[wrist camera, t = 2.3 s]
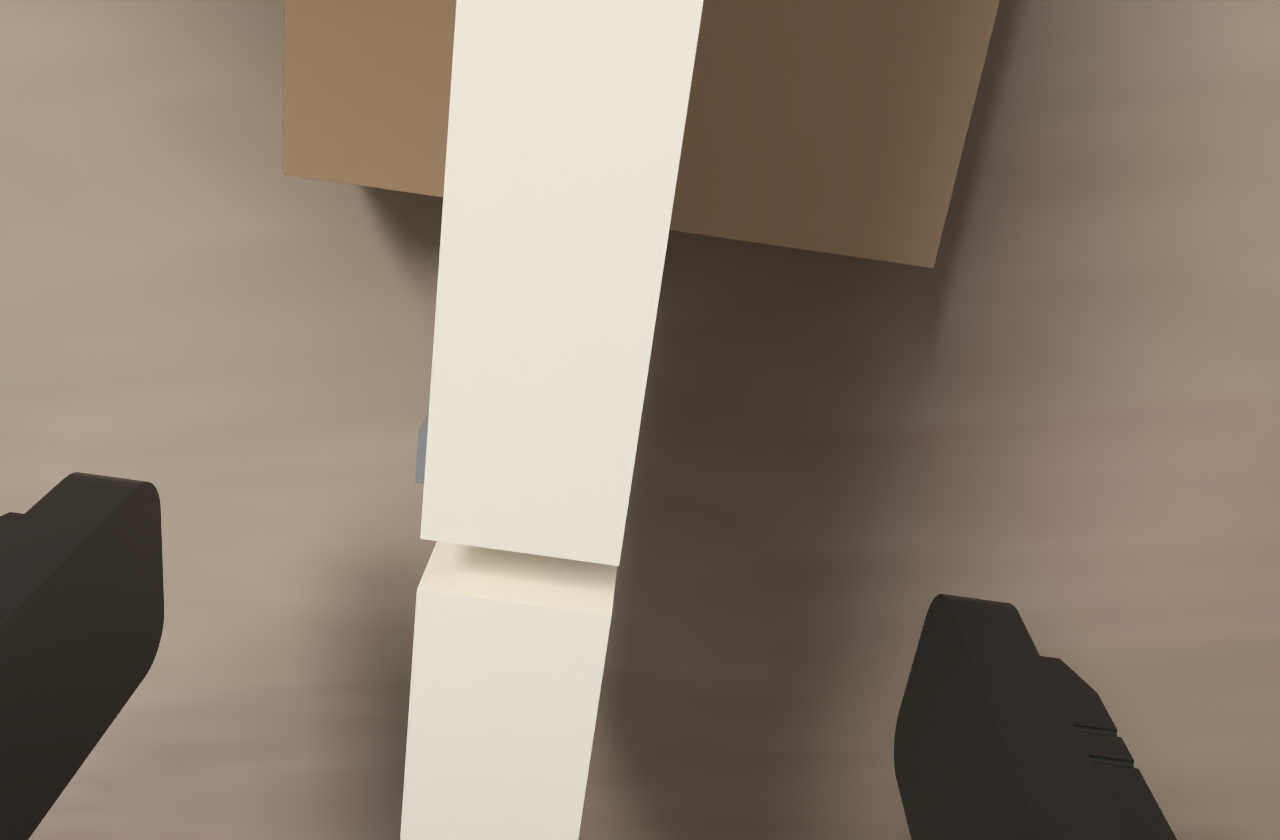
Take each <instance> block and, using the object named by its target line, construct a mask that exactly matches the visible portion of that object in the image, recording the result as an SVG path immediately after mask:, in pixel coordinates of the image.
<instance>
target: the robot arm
mask: <svg viewBox="0 0 1280 840" xmlns="http://www.w3.org/2000/svg"><path fill="white" fill-rule="evenodd" d="M163 621H164V594H163V565H162V536H161V508H160V499H159V495H158V492H157V489H156V488H155V486H154V485H153V484H152V483H149V482H144V481H137V480H130V479H122V478H115V477H108V476H101V475H94V474H86V473H79V472H76V473H72V474H70V475H68V476H67V477H66V478H64V479H63V480H62V481H61V482H60V483H59V484H58V485H56V486H55V487H54V488H53V489H52V490H51V491H50V492H49V493H47V494H46V495H45V496H44V497H43V498H42V499H41V500H40V501H38V502H37V503H36V504H35V505H34V506H33V507H32V508H31V509H30V510H28V511H27V512H26V513H25V514H20V513H12V512H10V513H7V514H5V515H3V516H1V517H0V840H28V839H29V837H30V836H31V835H32V833H33V832H34V830H35V829H36V828H37V826H38V825H39V824H40V822H41V821H42V819H43V818H44V817H45V815H46V814H47V812H48V811H49V810H50V808H51V807H52V805H53V804H54V803H55V801H56V800H57V798H58V797H59V796H60V794H61V793H62V791H63V790H64V789H65V787H66V786H67V785H68V783H69V782H70V780H71V779H72V778H73V776H74V775H75V773H76V772H77V771H78V769H79V768H80V766H81V765H82V764H83V762H84V761H85V759H86V758H87V757H88V755H89V754H90V753H91V751H92V750H93V748H94V747H95V746H96V744H97V743H98V741H99V740H100V739H101V737H102V736H103V734H104V733H105V732H106V730H107V729H108V727H109V726H110V725H111V723H112V722H113V720H114V719H115V718H116V716H117V715H118V714H119V712H120V711H121V709H122V708H123V707H124V705H125V704H126V702H127V701H128V700H129V698H130V697H131V695H132V694H133V693H134V691H135V690H136V688H137V687H138V686H139V684H140V683H141V681H142V680H143V679H144V677H145V676H146V674H147V673H148V671H149V669H150V667H151V665H152V663H153V661H154V659H155V656H156V653H157V650H158V647H159V643H160V639H161V635H162V629H163ZM1133 763H1134V760H1133V758H1132V756H1131V754H1130V752H1129V751H1128V749H1127V747H1126V745H1125V743H1124V741H1123V740H1122V738H1121V737H1117V728H1116V727H1115V725H1114V723H1113V721H1112V719H1111V717H1110V716H1109V714H1108V712H1107V710H1106V708H1105V706H1104V705H1103V703H1102V701H1101V699H1100V697H1099V695H1098V694H1097V692H1095V691H1094V690H1093V689H1092V688H1091V687H1090V686H1089V685H1088V684H1087V683H1086V682H1085V681H1084V680H1082V679H1081V678H1080V677H1079V676H1078V675H1077V674H1076V673H1075V672H1074V671H1073V670H1072V669H1071V668H1069V667H1068V666H1067V665H1066V664H1065V663H1064V662H1063V661H1062V660H1061V659H1058V658H1051V657H1043V656H1039V654H1038V651H1037V649H1036V647H1035V645H1034V643H1033V641H1032V639H1031V637H1030V635H1029V633H1028V631H1027V629H1026V627H1025V625H1024V623H1023V621H1022V619H1021V617H1020V615H1019V613H1018V611H1017V609H1016V608H1015V607H1014V606H1013V605H1012V604H1010V603H1003V602H996V601H989V600H981V599H974V598H967V597H960V596H952V595H945V594H939V595H937V596H936V597H935V598H934V599H933V601H932V603H931V605H930V607H929V610H928V613H927V616H926V619H925V622H924V626H923V630H922V633H921V637H920V640H919V644H918V647H917V651H916V654H915V658H914V661H913V665H912V668H911V672H910V675H909V679H908V682H907V686H906V689H905V693H904V696H903V700H902V703H901V707H900V710H899V714H898V718H897V724H896V731H895V740H894V765H895V774H896V779H897V783H898V787H899V791H900V795H901V799H902V803H903V807H904V811H905V815H906V819H907V823H908V827H909V831H910V834H911V838H912V840H1177V839H1176V837H1175V835H1174V833H1173V832H1172V830H1171V828H1170V826H1169V824H1168V822H1167V821H1166V819H1165V817H1164V815H1163V813H1162V811H1161V809H1160V808H1159V806H1158V804H1157V802H1156V800H1155V798H1154V797H1153V795H1152V793H1151V791H1150V789H1149V787H1148V786H1147V784H1146V782H1145V780H1144V778H1143V776H1142V775H1141V773H1140V771H1139V769H1136V768H1134V766H1133Z"/></svg>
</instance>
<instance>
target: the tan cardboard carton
mask: <svg viewBox="0 0 1280 840" xmlns="http://www.w3.org/2000/svg"><path fill="white" fill-rule="evenodd" d="M999 2H1000V0H284V72H283V173H282V174H284V175H291V176H298V177H305V178H312V179H319V180H326V181H333V182H340V183H346V184H353V185H360V186H367V187H374V188H381V189H388V190H395V191H402V192H409V193H416V194H423V195H430V196H437V197H443V210H442V225H441V239H440V254H439V269H438V284H437V299H436V314H435V329H434V344H433V358H432V373H431V388H430V403H429V412H428V414H427V416H426V418H425V419H424V421H423V423H422V425H421V427H420V429H419V435H418V450H417V466H416V483H423V484H424V492H423V507H422V522H421V537H420V539H426V540H433V541H441V542H448V543H455V544H462V545H469V546H477V547H484V548H491V549H498V550H505V551H513V552H520V553H527V554H534V555H541V556H549V557H556V558H563V559H570V560H577V561H585V562H592V563H599V564H606V565H613V566H619V563H620V556H621V550H622V543H623V536H624V530H625V523H626V516H627V510H628V503H629V496H630V489H631V483H632V476H633V469H634V463H635V456H636V449H637V443H638V436H639V429H640V423H641V416H642V409H643V402H644V396H645V389H646V382H647V376H648V369H649V362H650V356H651V349H652V342H653V336H654V329H655V322H656V315H657V309H658V302H659V295H660V289H661V282H662V275H663V269H664V262H665V255H666V249H667V242H668V235H669V230H672V231H679V232H686V233H693V234H700V235H707V236H714V237H721V238H728V239H735V240H742V241H748V242H755V243H762V244H769V245H776V246H783V247H790V248H797V249H804V250H811V251H818V252H825V253H832V254H839V255H845V256H852V257H859V258H866V259H873V260H880V261H887V262H894V263H901V264H908V265H915V266H922V267H929V268H934V264H935V260H936V256H937V252H938V248H939V244H940V240H941V236H942V232H943V228H944V224H945V220H946V216H947V212H948V208H949V204H950V200H951V196H952V192H953V188H954V184H955V180H956V176H957V172H958V167H959V163H960V159H961V155H962V151H963V147H964V143H965V139H966V135H967V131H968V127H969V123H970V119H971V115H972V111H973V107H974V103H975V99H976V95H977V91H978V87H979V83H980V79H981V75H982V71H983V67H984V63H985V59H986V55H987V51H988V47H989V42H990V38H991V34H992V30H993V26H994V22H995V18H996V14H997V10H998V6H999Z"/></svg>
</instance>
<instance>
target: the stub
mask: <svg viewBox="0 0 1280 840" xmlns="http://www.w3.org/2000/svg"><path fill="white" fill-rule="evenodd" d="M616 572H617V566H613V565H606V564H599V563H592V562H585V561H577V560H570V559H563V558H556V557H549V556H541V555H534V554H527V553H520V552H513V551H505V550H498V549H491V548H484V547H477V546H469V545H462V544H455V543H448V542H441V541H437V542H436V545H435V547H434V550H433V552H432V554H431V557H430V559H429V562H428V564H427V567H426V569H425V571H424V574H423V576H422V579H421V581H420V584H419V586H418V588H417V596H416V611H415V626H414V641H413V656H412V671H411V686H410V700H409V715H408V730H407V745H406V760H405V775H404V790H403V805H402V819H401V834H400V840H578V837H579V831H580V824H581V817H582V811H583V804H584V797H585V791H586V784H587V777H588V771H589V764H590V757H591V750H592V744H593V737H594V730H595V724H596V717H597V710H598V704H599V697H600V690H601V684H602V677H603V670H604V663H605V657H606V650H607V643H608V637H609V630H610V623H611V617H612V608H613V599H614V590H615V581H616Z"/></svg>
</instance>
